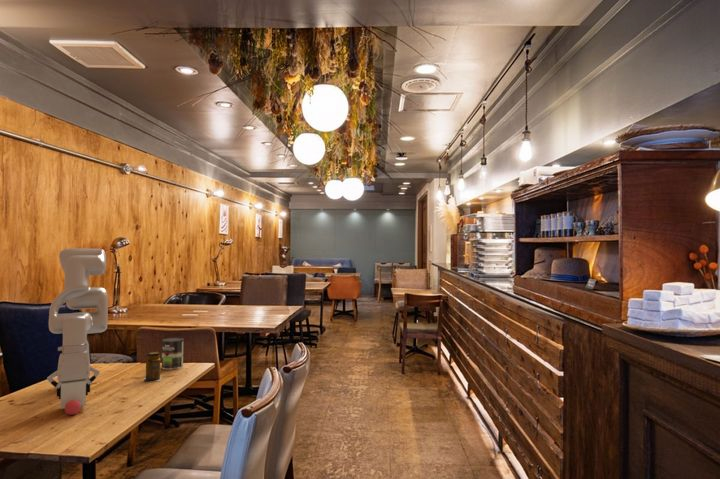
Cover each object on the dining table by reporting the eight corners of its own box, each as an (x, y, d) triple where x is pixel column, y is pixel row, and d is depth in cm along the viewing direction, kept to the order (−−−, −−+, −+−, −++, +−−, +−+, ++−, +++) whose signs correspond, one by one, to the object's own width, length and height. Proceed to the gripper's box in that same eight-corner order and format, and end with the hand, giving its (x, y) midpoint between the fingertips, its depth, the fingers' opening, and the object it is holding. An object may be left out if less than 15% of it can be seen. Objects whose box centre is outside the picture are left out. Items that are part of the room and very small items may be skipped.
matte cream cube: (61, 402, 167) (62, 379, 168) (85, 399, 171) (86, 376, 172) (60, 408, 161) (61, 384, 161) (85, 405, 165) (86, 381, 165)
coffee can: (176, 370, 221) (176, 341, 221) (157, 369, 222) (157, 340, 223) (187, 365, 231) (187, 337, 231) (169, 364, 233) (169, 337, 233)
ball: (64, 398, 159) (64, 410, 156) (81, 396, 162) (80, 407, 158) (65, 407, 162) (64, 419, 158) (81, 405, 164) (80, 416, 161)
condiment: (160, 376, 210) (161, 350, 210) (161, 381, 202) (162, 354, 203) (143, 378, 207) (144, 352, 207) (143, 383, 199) (144, 356, 199)
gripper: (45, 353, 159) (44, 403, 158) (101, 348, 168) (100, 395, 168) (47, 349, 165) (45, 397, 165) (101, 344, 175) (100, 390, 174)
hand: (73, 396), depth 166 cm, fingers closed on matte cream cube, 7 cm apart
